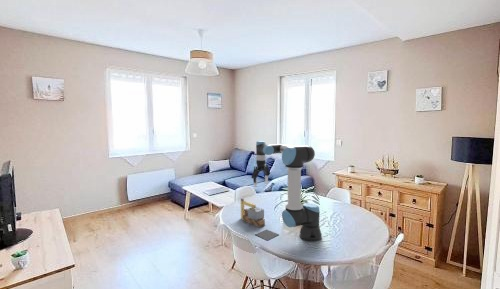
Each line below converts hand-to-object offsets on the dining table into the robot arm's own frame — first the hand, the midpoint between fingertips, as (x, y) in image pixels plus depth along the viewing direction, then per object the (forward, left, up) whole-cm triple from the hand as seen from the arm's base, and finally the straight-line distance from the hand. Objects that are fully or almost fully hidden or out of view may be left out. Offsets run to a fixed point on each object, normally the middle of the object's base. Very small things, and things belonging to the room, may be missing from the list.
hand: (261, 184), depth 223 cm
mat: (-28, +24, -27) cm, 45 cm away
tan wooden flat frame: (0, +16, -26) cm, 31 cm away
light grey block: (-9, +16, -22) cm, 28 cm away
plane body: (-6, +16, -27) cm, 31 cm away
